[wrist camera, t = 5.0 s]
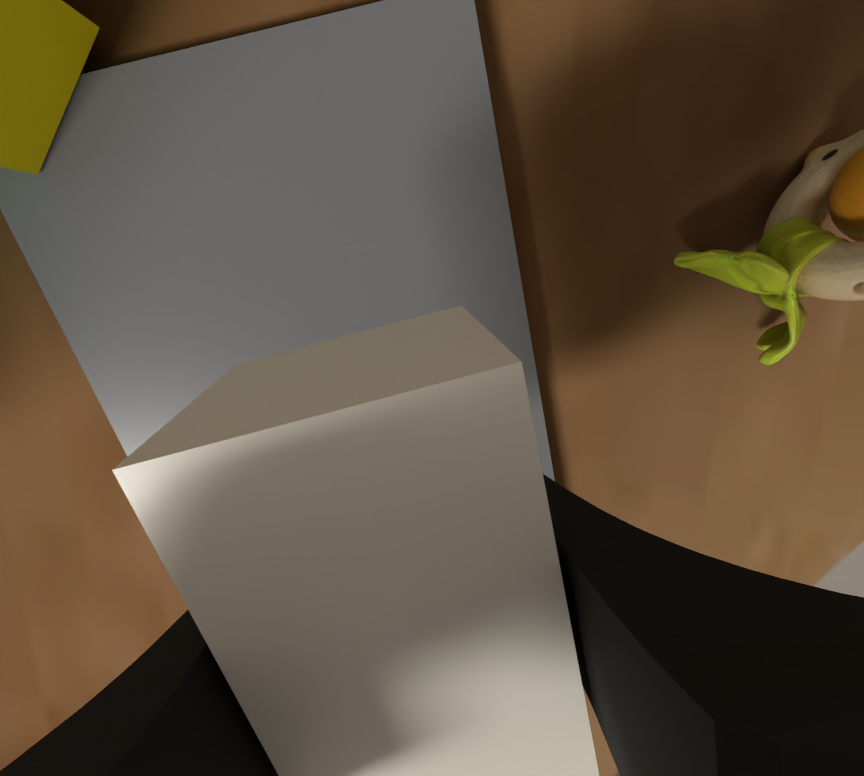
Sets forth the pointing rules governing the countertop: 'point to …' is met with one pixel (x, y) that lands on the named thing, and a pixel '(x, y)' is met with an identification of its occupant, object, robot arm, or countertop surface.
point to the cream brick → (375, 555)
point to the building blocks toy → (37, 75)
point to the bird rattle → (802, 244)
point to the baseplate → (272, 203)
